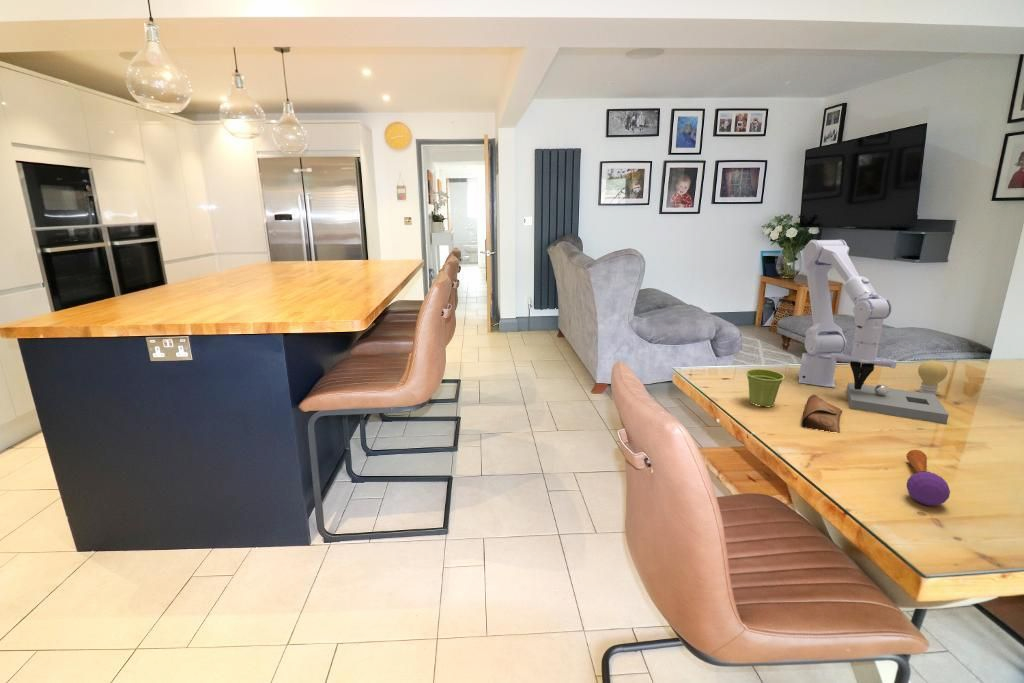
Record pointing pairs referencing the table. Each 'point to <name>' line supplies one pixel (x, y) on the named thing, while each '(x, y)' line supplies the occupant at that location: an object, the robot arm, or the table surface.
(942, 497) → the purple maraca
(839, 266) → the robot arm
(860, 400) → the hole deck
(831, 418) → the sunglasses case
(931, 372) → the light bulb
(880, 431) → the table surface
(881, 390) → the steel ball
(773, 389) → the plant pot
